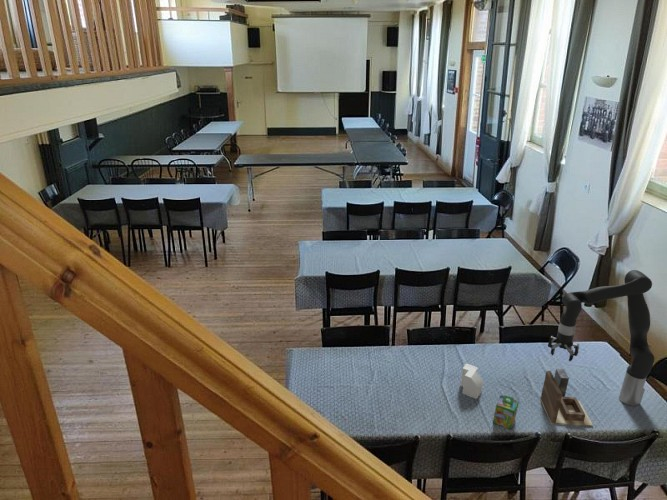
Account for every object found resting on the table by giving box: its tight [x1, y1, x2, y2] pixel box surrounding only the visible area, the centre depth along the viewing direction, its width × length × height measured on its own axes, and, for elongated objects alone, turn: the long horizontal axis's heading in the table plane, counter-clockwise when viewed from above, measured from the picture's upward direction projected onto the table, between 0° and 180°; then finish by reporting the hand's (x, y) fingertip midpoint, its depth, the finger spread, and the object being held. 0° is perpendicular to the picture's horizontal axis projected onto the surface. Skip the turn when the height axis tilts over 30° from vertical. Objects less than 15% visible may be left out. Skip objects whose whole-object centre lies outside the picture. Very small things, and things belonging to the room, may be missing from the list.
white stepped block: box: [460, 363, 484, 400], centre depth 264 cm, size 11×11×12 cm
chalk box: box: [492, 395, 519, 430], centre depth 241 cm, size 9×9×15 cm
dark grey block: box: [553, 368, 570, 397], centre depth 263 cm, size 4×8×12 cm, turn 175°
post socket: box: [540, 370, 594, 427], centre depth 246 cm, size 20×18×19 cm
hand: (561, 357), depth 253 cm, fingers open, 8 cm apart
